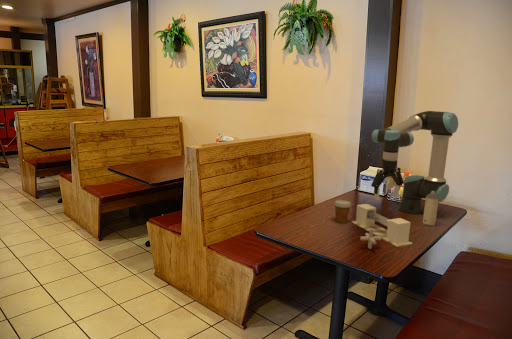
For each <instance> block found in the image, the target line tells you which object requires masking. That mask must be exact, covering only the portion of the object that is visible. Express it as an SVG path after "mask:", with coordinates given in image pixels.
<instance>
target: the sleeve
mask: <svg viewBox="0 0 512 339" xmlns="http://www.w3.org/2000/svg"><path fill="white" fill-rule="evenodd" d="M368 211H373V212H375V213H377V207H375V206H374V205H371V204H368V203H364V204H363V203H362V204H357V205H356V215H355V221H356V222H357V223H359V224H360V225H362V226H364V227H366V226H373V225H375V222H376V221H375V220H373V219H371V218H369V217H367V212H368Z"/></svg>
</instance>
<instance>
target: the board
mask: <svg viewBox="0 0 512 339" xmlns="http://www.w3.org/2000/svg"><path fill="white" fill-rule="evenodd" d="M350 222H351V224H354V225H356V226H358V227H359V228H362V229H364V230H365V231H367V232H369V230H370V228H373V236H381V240H383V241H385V242H387V243H389V244H390V245H393V246H395V247H397V248H398V247H399V248H400V247H404V246H411V245H413V242H411V241H409V240H408V242H405V243H399V244H395V243H393V242H391V241H389V240H388V239H386V238H387V228H386V229H385V228H384V227H382V226H380V225H378V224H375V225H373V226H366V227H364V226H362V225H360V224H359V223H357V222H356V220H352V221H350Z"/></svg>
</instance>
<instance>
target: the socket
mask: <svg viewBox="0 0 512 339" xmlns="http://www.w3.org/2000/svg"><path fill="white" fill-rule="evenodd" d="M389 219H390V218H389ZM411 224H412V222H410V221H408V220H406V219H404V218H401V217H397V218H392V219H390V220H388V227H387V228H386V230H387V238H386V239H388V240H389V241H391V242H393V243H395V244H399V243H405V242H408V241H409V237H410V230H411Z"/></svg>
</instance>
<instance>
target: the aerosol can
mask: <svg viewBox="0 0 512 339" xmlns="http://www.w3.org/2000/svg"><path fill="white" fill-rule="evenodd" d="M438 201H439V197H438V196H437V195H436V194H435V191H431V193H430V194H428V195H426V199H425V202H424V207H423V216H422V225H424V226H427V227H435V226H436V222H437V215H438V207H439V202H438Z"/></svg>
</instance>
